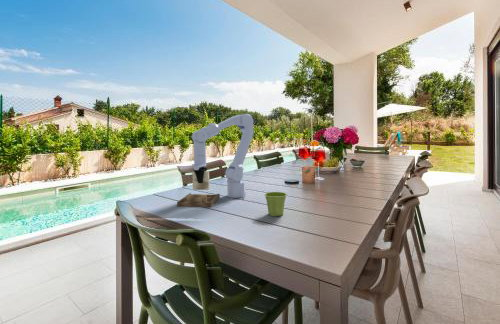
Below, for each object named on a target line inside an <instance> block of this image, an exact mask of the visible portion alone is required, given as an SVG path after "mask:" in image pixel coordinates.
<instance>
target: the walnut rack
mask: <svg viewBox="0 0 500 324" xmlns="http://www.w3.org/2000/svg"><path fill="white" fill-rule="evenodd" d="M188 194H192V193H190V192H189V193H188ZM188 194H187V195H188ZM206 194H207V193H206ZM187 195H186V194H185V196H183V197H182V198H180V199H179V200H178V201H176V207H180V208H181V207H183V208H185V207H187V208H190V207H191V208H194V207H195V208H212V207H213V206H214V205H215V204H216V203H217V201H218V200H219V199H220V197H221V194H220V193H217V194H209V193H208V194H207V203H187Z"/></svg>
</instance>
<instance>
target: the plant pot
mask: <svg viewBox="0 0 500 324" xmlns="http://www.w3.org/2000/svg"><path fill="white" fill-rule="evenodd" d="M264 196H265V199H266V205H267V211H268V212H267V214H268V215H269V216H271V217H278V216H280V217H281V216H283V215H284V211H285V203H286V198H287V196H288V194H287V192H282V191H270V192H269V191H268V192H266V193H264Z"/></svg>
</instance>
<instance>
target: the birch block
mask: <svg viewBox="0 0 500 324" xmlns="http://www.w3.org/2000/svg"><path fill="white" fill-rule="evenodd" d="M191 174H192V175H191V176H192V190H193V191H198V190H199V191H209V190H210V171H209V170H207V171H205V172H204V176H203V183H198V181H197V177H196V174H195V172H194V171H193V170H192V172H191Z"/></svg>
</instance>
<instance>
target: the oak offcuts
mask: <svg viewBox="0 0 500 324" xmlns="http://www.w3.org/2000/svg"><path fill="white" fill-rule="evenodd" d="M187 203H207V193H206V194H201V193H199V194H198V193H197V194H196V193H191V194H189V193H188V194H187Z"/></svg>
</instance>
